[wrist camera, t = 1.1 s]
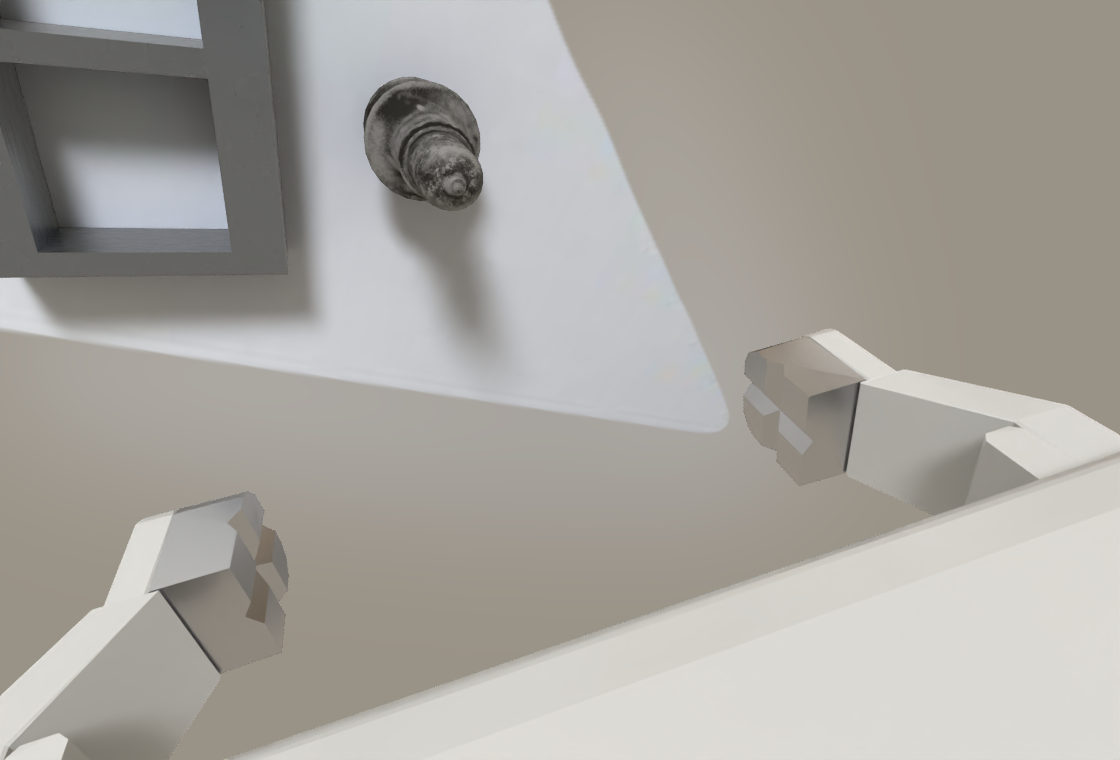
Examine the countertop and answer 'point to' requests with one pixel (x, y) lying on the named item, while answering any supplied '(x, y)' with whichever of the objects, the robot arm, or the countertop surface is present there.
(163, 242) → the grey rectangular frame piece
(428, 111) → the grey stone finial
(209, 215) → the countertop surface
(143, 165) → the countertop surface
